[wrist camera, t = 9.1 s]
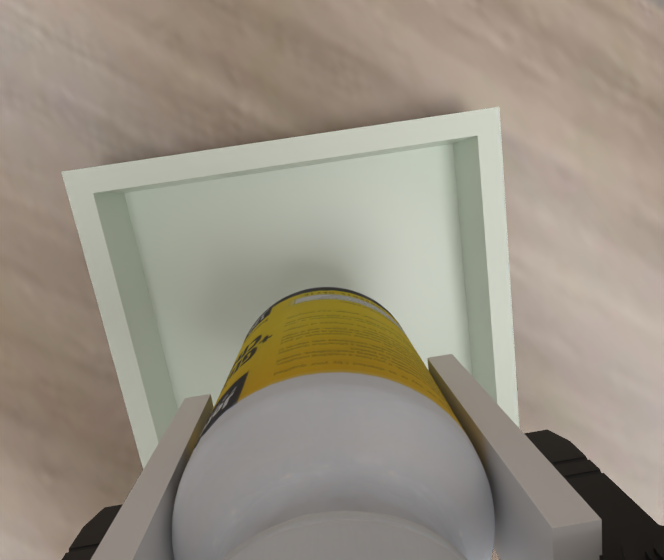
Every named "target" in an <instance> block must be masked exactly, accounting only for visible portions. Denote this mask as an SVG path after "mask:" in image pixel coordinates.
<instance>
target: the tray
mask: <svg viewBox="0 0 664 560" xmlns="http://www.w3.org/2000/svg"><path fill="white" fill-rule="evenodd" d="M61 173H62V176H63V180H64V183H65V187H66V191H67V194H68V198H69V202H70V205H71V209H72V212H73V216H74V220H75V223H76V227H77V231H78V234H79V238H80V242H81V245H82V249H83V252H84V256H85V260H86V263H87V267H88V271H89V274H90V278H91V282H92V285H93V289H94V292H95V296H96V300H97V303H98V307H99V311H100V314H101V318H102V322H103V325H104V329H105V332H106V336H107V340H108V343H109V347H110V351H111V354H112V358H113V361H114V365H115V369H116V372H117V376H118V380H119V383H120V387H121V391H122V394H123V398H124V401H125V405H126V409H127V412H128V416H129V420H130V423H131V427H132V431H133V434H134V438H135V441H136V445H137V449H138V452H139V456H140V460H141V463H142V467H143V469H144V467H145V466H146V464H147V462H148V461H149V459H150V457H151V455H152V454H153V452H154V450H155V449H156V447H157V445H158V443H159V442H160V440H161V438H162V437H163V435H164V433H165V432H166V430H167V428H168V426H169V425H170V423H171V421H172V420H173V418H174V416H175V414H176V413H177V411H178V409H179V408H180V406H181V404H182V402H183V401H184V399H185V398H188V397H194V396H200V395H206V394H211V398H212V402H213V406H215V404H216V402H217V399H218V397H219V395H220V393H221V391H222V389H223V387H224V384H225V382H226V380H227V378H228V375H229V373H230V371H231V369H232V367H233V364H234V362H235V360H236V358H237V356H238V354H239V352H240V349H241V347H242V345H243V342H244V340H245V338H246V336H247V334H248V332H249V330H250V329H251V327H252V326H253V325H254V323H255V322H256V320H257V319H258V318H259V317H260V316H261V315H262V314H263V313H264V312H265V311H266V310H267V309H268V308H269V307H270V306H272V305H273V304H274V303H276V302H277V301H279V300H280V299H282V298H284V297H285V296H287V295H290V294H292V293H294V292H297V291H300V290H303V289H308V288H313V287H325V286H329V287H341V288H346V289H350V290H353V291H356V292H359V293H361V294H364V295H366V296H368V297H370V298H372V299H373V300H375V301H376V302H378V303H379V304H381V305H382V306H383V307H384V308H385V309H387V310H388V311H389V312H390V313H391V314H392V315H393V317H394V318H395V319H396V320H397V322H398V323H399V324H400V326H401V327H402V329H403V330H404V332H405V334H406V335H407V337H408V338H409V340H410V342H411V343H412V345H413V347H414V348H415V350H416V351H417V353H418V355H419V356H420V358H421V359H422V361H423V362H424V364H425V366H426V367H427V369H428V360H427V358H429V357H435V356H441V355H448V354H453V355H454V357H455V358H456V359H457V360H458V361H459V362H460V363H461V364H462V365H463V367H464V368H465V369H466V370H467V371H468V372H469V373H470V374H471V375H472V377H473V378H474V379H475V380H476V381H477V382H478V383H479V384H480V385H481V386H482V388H483V389H484V390H485V391H486V392H487V393H488V394H489V395H490V396H491V398H492V399H493V400H494V401H495V402H496V403H497V404H498V405H499V406H500V408H501V409H502V410H503V411H504V412H505V413H506V414H507V415H508V416H509V417H510V419H511V420H512V421H513V422H514V423H515V424H516V425H517V426H518V427H519V415H518V399H517V383H516V366H515V350H514V334H513V318H512V302H511V286H510V270H509V254H508V237H507V221H506V205H505V189H504V173H503V157H502V141H501V124H500V108H499V107H494V108H488V109H481V110H474V111H467V112H461V113H454V114H447V115H440V116H434V117H427V118H420V119H413V120H407V121H400V122H393V123H386V124H380V125H373V126H366V127H359V128H353V129H346V130H339V131H332V132H326V133H319V134H312V135H305V136H299V137H292V138H285V139H278V140H272V141H265V142H258V143H251V144H245V145H238V146H231V147H224V148H218V149H211V150H204V151H197V152H191V153H184V154H177V155H170V156H164V157H157V158H150V159H143V160H136V161H130V162H123V163H116V164H109V165H103V166H96V167H89V168H82V169H76V170H69V171H62V172H61ZM428 371H429V369H428Z"/></svg>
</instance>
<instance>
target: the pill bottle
mask: <svg viewBox="0 0 664 560" xmlns="http://www.w3.org/2000/svg"><path fill="white" fill-rule="evenodd" d="M494 536H495V513H494V504H493V498H492V493H491V489H490V484H489V481H488V478H487V475H486V472H485V470H484V467H483V465H482V463H481V460H480V458H479V456H478V454H477V452H476V450H475V448H474V446H473V444H472V443H471V441H470V439H469V438H468V436H467V434H466V433H465V431H464V429H463V428H462V426H461V424H460V423H459V421H458V419H457V418H456V416H455V414H454V413H453V411H452V409H451V407H450V406H449V404H448V402H447V401H446V399H445V397H444V396H443V394H442V392H441V391H440V389H439V387H438V386H437V384H436V382H435V381H434V379H433V377H432V376H431V374H430V372H429V371H428V369H427V367H426V366H425V364H424V362H423V361H422V359H421V358H420V356H419V355H418V353H417V351H416V350H415V348H414V347H413V345H412V343H411V342H410V340H409V338H408V337H407V335H406V334H405V332H404V330H403V329H402V327H401V326H400V324H399V323H398V322H397V320H396V319H395V318H394V317H393V315H392V314H391V313H390V312H389V311H388V310H387V309H385V308H384V307H383V306H382V305H381V304H379V303H378V302H376V301H375V300H373V299H372V298H370V297H368V296H366V295H364V294H361V293H359V292H356V291H353V290H350V289H346V288H341V287H329V286H325V287H313V288H308V289H303V290H300V291H297V292H294V293H292V294H290V295H287V296H285V297H284V298H282V299H280V300H279V301H277V302H276V303H274V304H273V305H272V306H270V307H269V308H268V309H267V310H266V311H265V312H264V313H263V314H262V315H261V316H260V317H259V318H258V319H257V320H256V322H255V323H254V325H253V326H252V327H251V329H250V330H249V332H248V334H247V336H246V338H245V340H244V342H243V345H242V347H241V349H240V352H239V354H238V356H237V358H236V360H235V362H234V364H233V367H232V369H231V371H230V373H229V375H228V378H227V380H226V382H225V384H224V387H223V389H222V391H221V393H220V395H219V397H218V399H217V402H216V404H215V406H214V408H213V410H212V412H211V414H210V416H209V418H208V420H207V422H206V424H205V427H204V429H203V430H202V433H201V435H200V437H199V439H198V441H197V443H196V445H195V447H194V449H193V452H192V454H191V457H190V459H189V461H188V463H187V466H186V468H185V470H184V473H183V475H182V478H181V481H180V484H179V487H178V491H177V494H176V498H175V503H174V510H173V516H172V547H173V555H174V560H491V558H492V552H493V546H494Z"/></svg>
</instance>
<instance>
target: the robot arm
mask: <svg viewBox="0 0 664 560" xmlns="http://www.w3.org/2000/svg"><path fill="white" fill-rule="evenodd" d="M427 360H428V369H429V372H430V374H431V376H432V377H433V379H434V381H435V382H436V384H437V386H438V387H439V389H440V391H441V392H442V394H443V396H444V397H445V399H446V401H447V402H448V404H449V406H450V407H451V409H452V411H453V413H454V414H455V416H456V418H457V419H458V421H459V423H460V424H461V426H462V428H463V429H464V431H465V433H466V434H467V436H468V438H469V439H470V441H471V443H472V444H473V446H474V448H475V450H476V452H477V454H478V456H479V458H480V460H481V463H482V465H483V467H484V470H485V472H486V475H487V478H488V481H489V484H490V489H491V493H492V498H493V504H494V513H495V536H494V546H493V547H494V549H495V551H496V553H497V555H498V557H499V559H500V560H664V526H661V525H658V524H657V523H656V522H655V521H654V520H653V519H652V518H651V517H650V516H649V515H648V514H647V513H646V512H644V511H643V510H642V509H641V508H640V507H639V506H638V505H637V504H636V503H635V502H634V501H633V500H632V499H631V498H630V497H629V496H627V495H626V494H625V493H624V492H623V491H622V490H621V489H620V488H619V487H618V486H617V485H616V484H615V483H614V482H613V481H612V480H611V479H609V478H608V477H607V476H606V475H605V474H604V473H601V471H600V469H599V468H598V467H597V466H596V465H595V464H594V463H593V462H591V461H590V460H587V458H586V456H585V455H584V454H583V453H582V452H581V451H580V450H579V449H578V448H577V447H576V446H575V445H573V444H572V443H571V442H570V441H569V440H567V439H565V438H563V437H561V436H559V435H557V434H555V433H553V432H551V431H549V430H543V431H537V432H531V433H525V434H524V433H523V432H522V431H521V430H520V429H519V427H518V426H517V425H516V424H515V423H514V422H513V421H512V420H511V419H510V417H509V416H508V415H507V414H506V413H505V412H504V411H503V410H502V409H501V408H500V406H499V405H498V404H497V403H496V402H495V401H494V400H493V399H492V398H491V396H490V395H489V394H488V393H487V392H486V391H485V390H484V389H483V388H482V386H481V385H480V384H479V383H478V382H477V381H476V380H475V379H474V378H473V377H472V375H471V374H470V373H469V372H468V371H467V370H466V369H465V368H464V367H463V365H462V364H461V363H460V362H459V361H458V360H457V359H456V358H455V357H454V355H453V354H448V355H441V356H435V357H429V358H427ZM213 408H214V406H213V402H212V398H211V394H206V395H200V396H194V397H188V398H185V399H184V401H183V402H182V404H181V406H180V408H179V409H178V411H177V413H176V414H175V416H174V418H173V420H172V421H171V423H170V425H169V426H168V428H167V430H166V432H165V433H164V435H163V437H162V438H161V440H160V442H159V443H158V445H157V447H156V449H155V450H154V452H153V454H152V455H151V457H150V459H149V461H148V462H147V464H146V466H145V467H144V469H143V471H142V473H141V474H140V476H139V478H138V479H137V481H136V483H135V485H134V486H133V488H132V490H131V491H130V493H129V495H128V497H127V498H126V500H125V502H124V503H123V505H117V506H111V507H105V508H104V509H102V510H101V511H100V512H99V513H98V514H97V515H96V516H95V517H94V518H93V519H92V520H91V521H89V522H88V523H87V524H86V525H85V526H84V527H83V528H82V530H81V531H80V533H79V534H78V536H77V537H76V539H75V540H74V542H73V544H72V545H71V547H70V548H69V553H66V554H65V556H64V557H63V559H62V560H174V555H173V547H172V516H173V510H174V503H175V498H176V494H177V491H178V487H179V484H180V481H181V478H182V475H183V473H184V470H185V468H186V466H187V463H188V461H189V459H190V457H191V454H192V452H193V449H194V447H195V445H196V443H197V441H198V439H199V437H200V435H201V433H202V430H203V429H204V427H205V424H206V422H207V420H208V418H209V416H210V414H211V412H212V410H213Z"/></svg>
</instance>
